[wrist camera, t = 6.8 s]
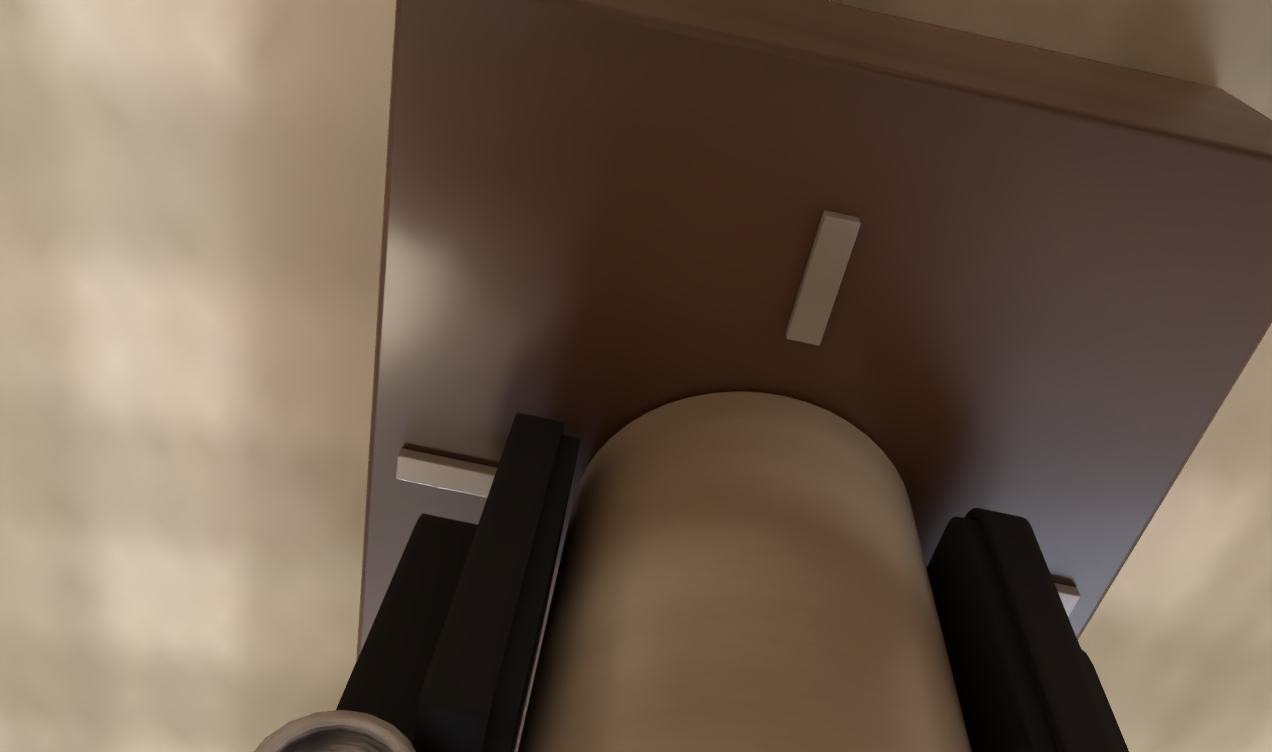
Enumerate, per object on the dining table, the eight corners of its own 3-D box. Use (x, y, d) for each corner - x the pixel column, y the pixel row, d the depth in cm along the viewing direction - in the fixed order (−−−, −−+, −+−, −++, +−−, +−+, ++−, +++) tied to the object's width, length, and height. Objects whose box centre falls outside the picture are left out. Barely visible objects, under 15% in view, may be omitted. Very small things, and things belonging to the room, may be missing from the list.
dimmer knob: (548, 616, 13) (447, 1079, 8) (603, 354, 11) (507, 783, 6) (850, 678, 13) (915, 1170, 8) (964, 432, 11) (1134, 909, 6)
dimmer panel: (472, -79, 11) (389, -37, 9) (1225, 88, 12) (1377, 181, 9) (407, 602, 17) (345, 758, 14) (911, 704, 17) (944, 875, 15)
